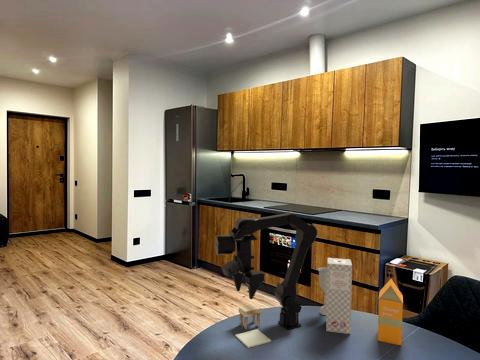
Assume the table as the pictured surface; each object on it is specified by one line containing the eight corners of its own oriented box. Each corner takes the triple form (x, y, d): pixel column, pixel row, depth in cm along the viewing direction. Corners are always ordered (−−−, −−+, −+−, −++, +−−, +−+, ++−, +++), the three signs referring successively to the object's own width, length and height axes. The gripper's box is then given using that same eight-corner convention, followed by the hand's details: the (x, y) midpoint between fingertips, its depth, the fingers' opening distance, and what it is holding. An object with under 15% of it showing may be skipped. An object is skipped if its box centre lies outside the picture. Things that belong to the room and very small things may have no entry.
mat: (257, 330, 123) (257, 329, 123) (270, 341, 115) (270, 340, 115) (235, 336, 119) (235, 334, 119) (248, 348, 111) (248, 346, 111)
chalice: (334, 317, 135) (335, 272, 135) (317, 315, 137) (318, 271, 136) (333, 309, 143) (334, 267, 142) (316, 308, 144) (317, 266, 143)
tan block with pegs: (254, 321, 131) (254, 303, 131) (261, 326, 126) (261, 308, 126) (238, 325, 128) (238, 306, 127) (244, 330, 123) (245, 311, 123)
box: (326, 331, 124) (327, 263, 123) (326, 321, 132) (327, 257, 131) (350, 334, 122) (352, 265, 121) (348, 323, 130) (350, 259, 129)
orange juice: (401, 334, 122) (403, 279, 122) (401, 345, 114) (403, 287, 114) (378, 329, 125) (379, 276, 125) (377, 340, 117) (378, 283, 117)
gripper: (212, 250, 127) (213, 291, 127) (237, 262, 111) (238, 308, 111) (238, 246, 132) (239, 285, 133) (265, 257, 116) (265, 301, 117)
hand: (244, 294), depth 123 cm, fingers open, 9 cm apart
